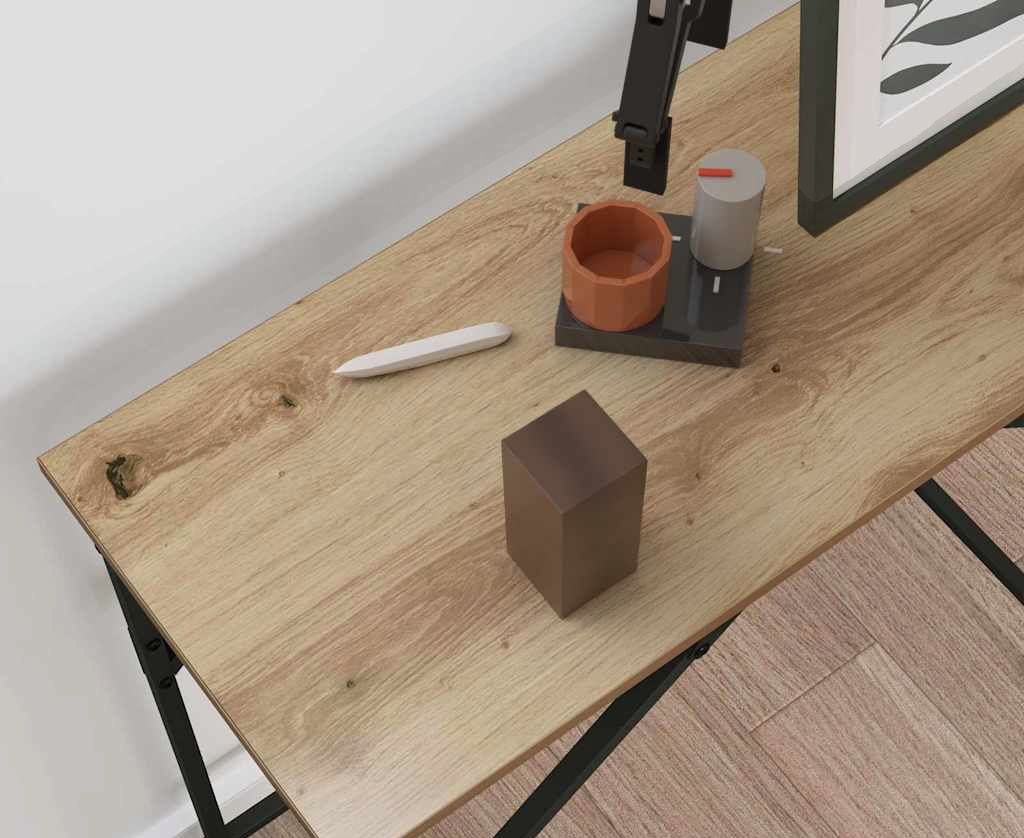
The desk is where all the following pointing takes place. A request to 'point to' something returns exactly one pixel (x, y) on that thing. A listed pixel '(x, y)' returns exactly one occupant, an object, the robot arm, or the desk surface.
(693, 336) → the stove
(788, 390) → the desk surface
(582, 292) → the bowl
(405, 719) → the desk surface
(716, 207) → the knob
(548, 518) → the stand
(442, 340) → the pen
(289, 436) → the desk surface
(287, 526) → the desk surface
